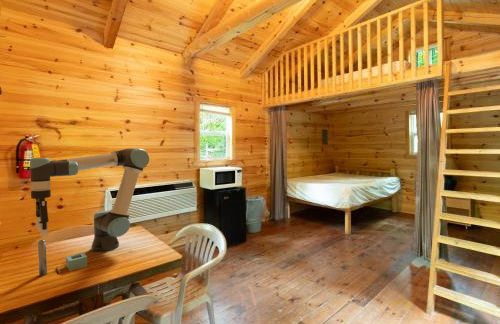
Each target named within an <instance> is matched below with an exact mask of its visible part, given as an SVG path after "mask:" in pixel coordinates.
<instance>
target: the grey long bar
mask: <svg viewBox="0 0 500 324" xmlns="http://www.w3.org/2000/svg"><path fill="white" fill-rule="evenodd" d="M37 249H38V250H37V252H38V253H37V254H38V256H37V257H38V272H39V273H38V275H39V277H44V276H46V275H47V274H48V267H47V266H48V263H47V243H46V240H45V239H40V240H38V242H37Z"/></svg>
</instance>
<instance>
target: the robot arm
mask: <svg viewBox="0 0 500 324" xmlns="http://www.w3.org/2000/svg"><path fill="white" fill-rule="evenodd" d="M149 164H150V156H149V153H148V152H147V151H146V150H145V149H144V148H139V147H137V148H124V149H120V150H115V151H110V153H106V154H105V153H104V154H94V155H90V156H89V155H88V156H82V157H72V158H65V159H58V160H56V159H55V160H54V159H53V160H50V158H49V157H34V158H33V157H32V158H30V160H29V174H30V175H29V176H30V177H29V178H30V183H29V184H28V186H29V187H30V190H31V191H30V198H31V199H33V200H36V201H35V219H36V231H40V237H42V238H43V237H48V236H49V213H48V201H47V200H46V199H49V198H51V196H52V195H51V194H52V192H51V187H52V186H51V177H52V178H54V177H64V176H65V177H68V176H69V177H71V176H76V175H78V172H81V171H85V170H91V169H98V168H103V167H110V166H112V167H122V169H123V170H124V171H123V174H122V178H121V181H120V185H119V186H118V190H117V193H116V197H115V201H114V203H113V206H112V209H110V210H102V211H97V212H95V213H94V214H93V233H94V237H93V241H92V242H91V246H90V247H91V248H90V249H91V251H92V252H94V253H103V252H109V251H112V250H116V249H117V248H119V247H120V246H119V245H120V241H119V240H118V238H120V237H123V236H125V234H127V233H128V232H129V230H130V228H131V222H130V220H129V218H130V213H129V209H130V205H131V201H132V199H133V196H134V193H135V192H134V191H135V189H136V185H137V183H138V179H139V175H140V174H142V173H143V171H144V168H145V167H147V166H148V165H149Z"/></svg>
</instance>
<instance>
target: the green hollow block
mask: <svg viewBox="0 0 500 324" xmlns="http://www.w3.org/2000/svg"><path fill="white" fill-rule="evenodd" d="M65 265H66V268H67V270H68V271H69V272H71V271H74V270H79V269H81V268H86V267H88V256H87V255H86V254H85V253H84V252H80V253H76V254H71V255H67V256H65Z"/></svg>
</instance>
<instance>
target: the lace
mask: <svg viewBox="0 0 500 324" xmlns="http://www.w3.org/2000/svg"><path fill="white" fill-rule="evenodd" d="M55 269H56V271H57V273H58V274H61V272H62V271H61V270H60V267H58V266H56V267H55Z"/></svg>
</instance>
